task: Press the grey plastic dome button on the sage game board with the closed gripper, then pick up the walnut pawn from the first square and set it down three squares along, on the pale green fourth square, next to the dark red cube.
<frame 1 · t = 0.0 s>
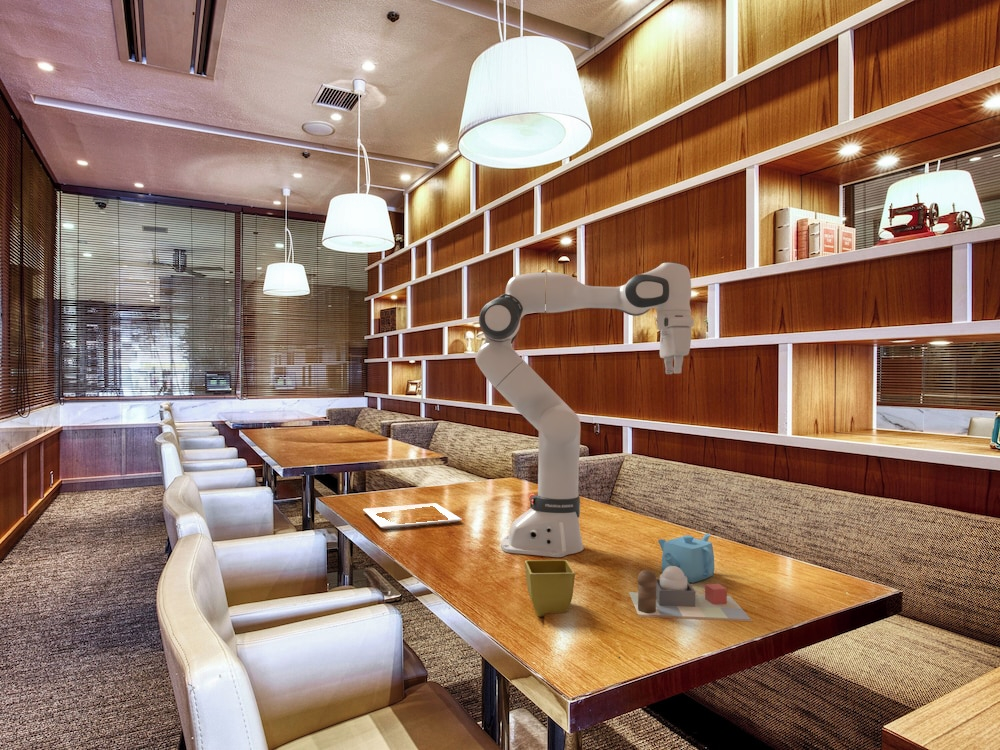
hand: (673, 373, 157), 48 cm above the table, fingers open, 8 cm apart
red cube: (715, 601, 118), point 1 cm above the table, touching board
teapot: (685, 579, 134), on the table
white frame: (410, 520, 190), on the table
pawn: (646, 609, 113), point 1 cm above the table, touching board
flower pot: (548, 613, 114), on the table
dome: (673, 579, 118), point 5 cm above the table, slide at 0.0 cm
board: (686, 610, 115), on the table
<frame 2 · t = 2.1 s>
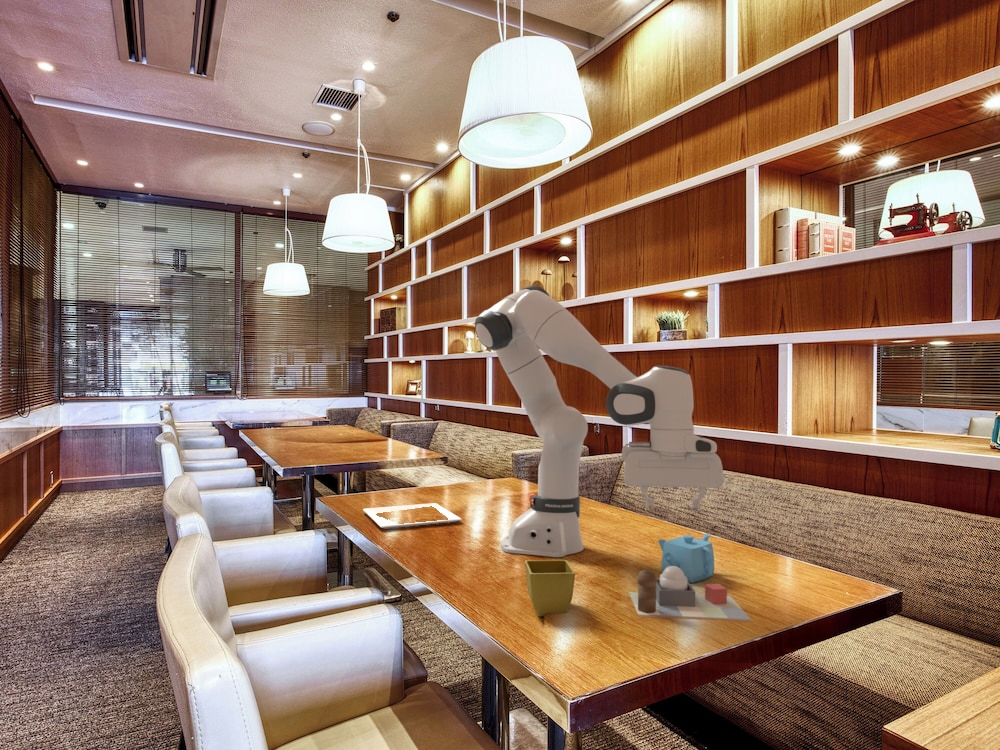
hand: (672, 507, 122), 19 cm above the table, fingers open, 8 cm apart
nothing on the table moved.
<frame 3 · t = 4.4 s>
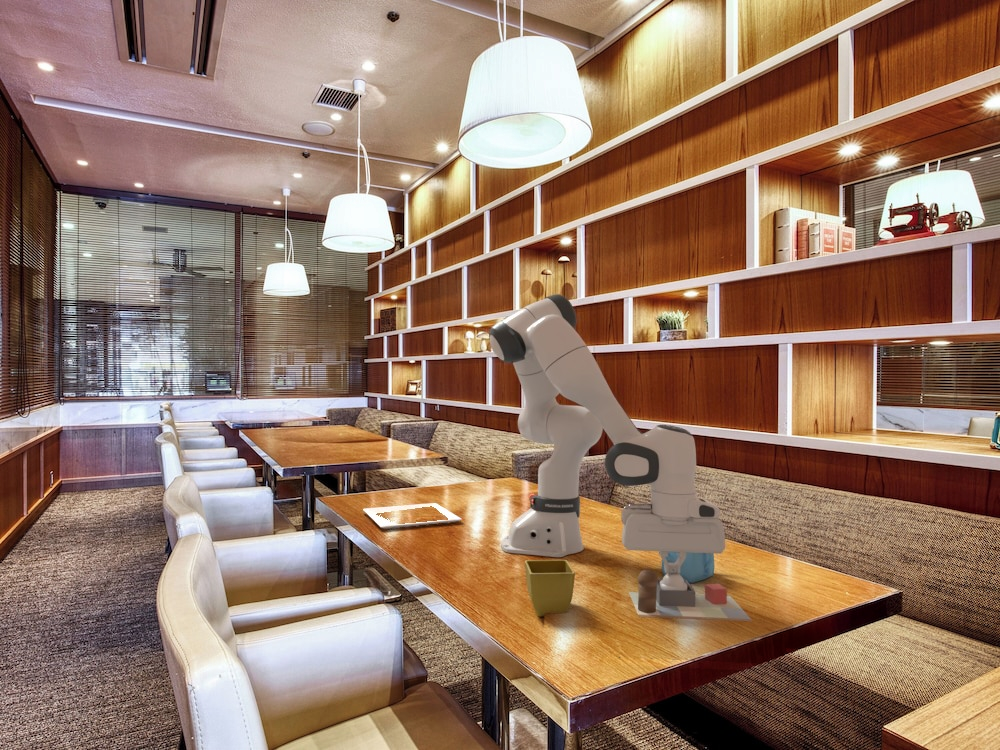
hand: (672, 572, 118), 7 cm above the table, fingers closed, pressing on dome
dome: (673, 585, 118), point 4 cm above the table, slide at 1.3 cm, touching gripper
everything else where it was.
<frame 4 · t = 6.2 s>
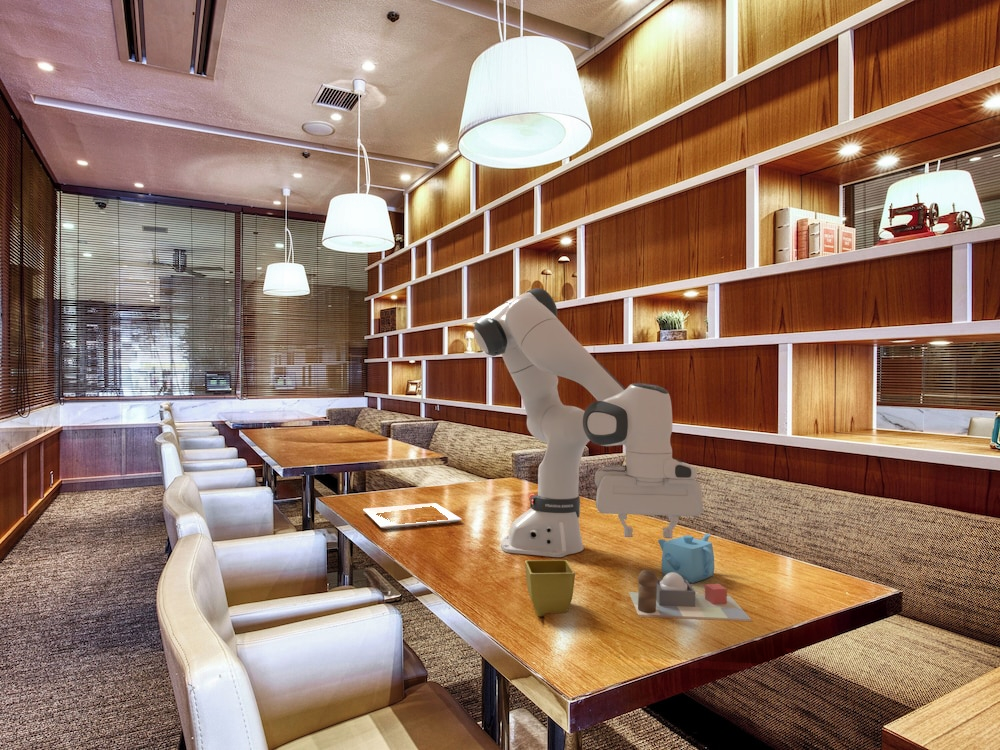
hand: (647, 537, 113), 15 cm above the table, fingers open, 6 cm apart
dome: (673, 585, 118), point 4 cm above the table, slide at 1.3 cm
everything else where it was.
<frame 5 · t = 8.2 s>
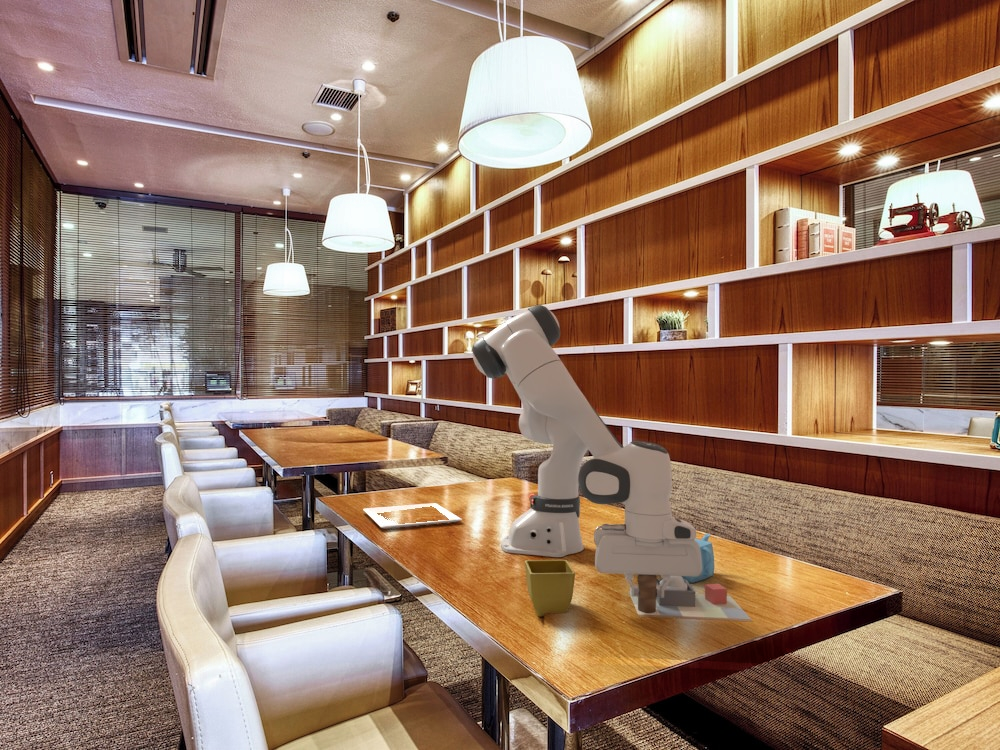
hand: (647, 596, 113), 4 cm above the table, fingers closed on pawn, 3 cm apart
pawn: (646, 609, 113), point 1 cm above the table, touching board, gripper
everything else where it was.
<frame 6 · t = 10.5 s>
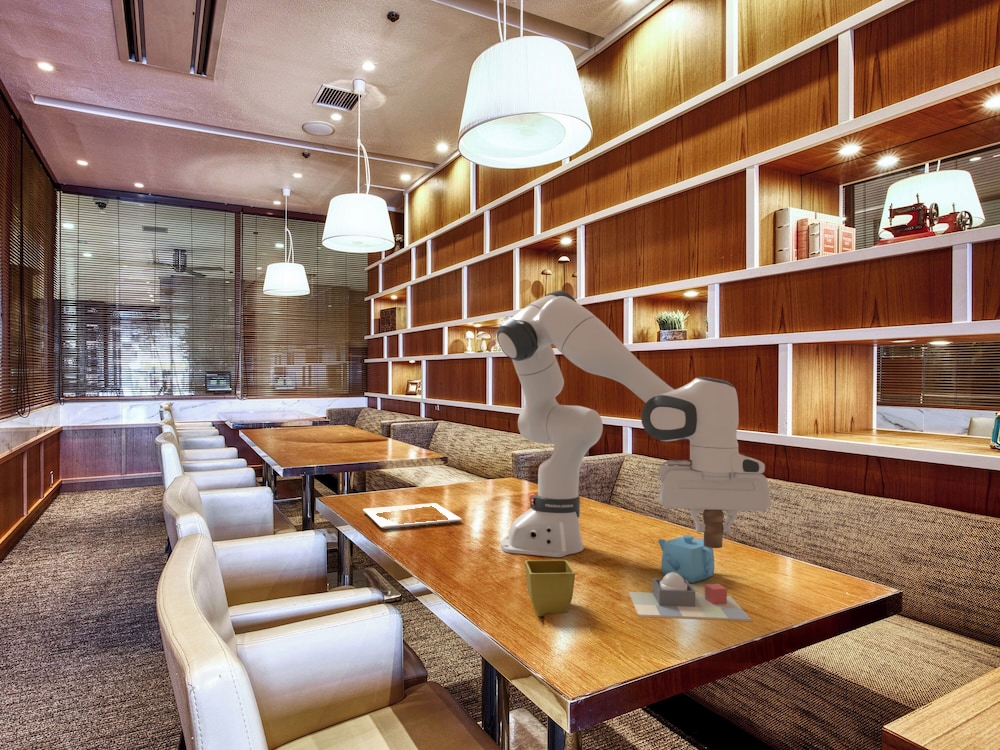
hand: (712, 532, 112), 16 cm above the table, fingers closed on pawn, 3 cm apart
pawn: (712, 545, 112), point 14 cm above the table, touching gripper
everything else where it was.
when the fingers open (5 cm above the table, at t = 12.8 s): pawn drops 1 cm, resting on board.
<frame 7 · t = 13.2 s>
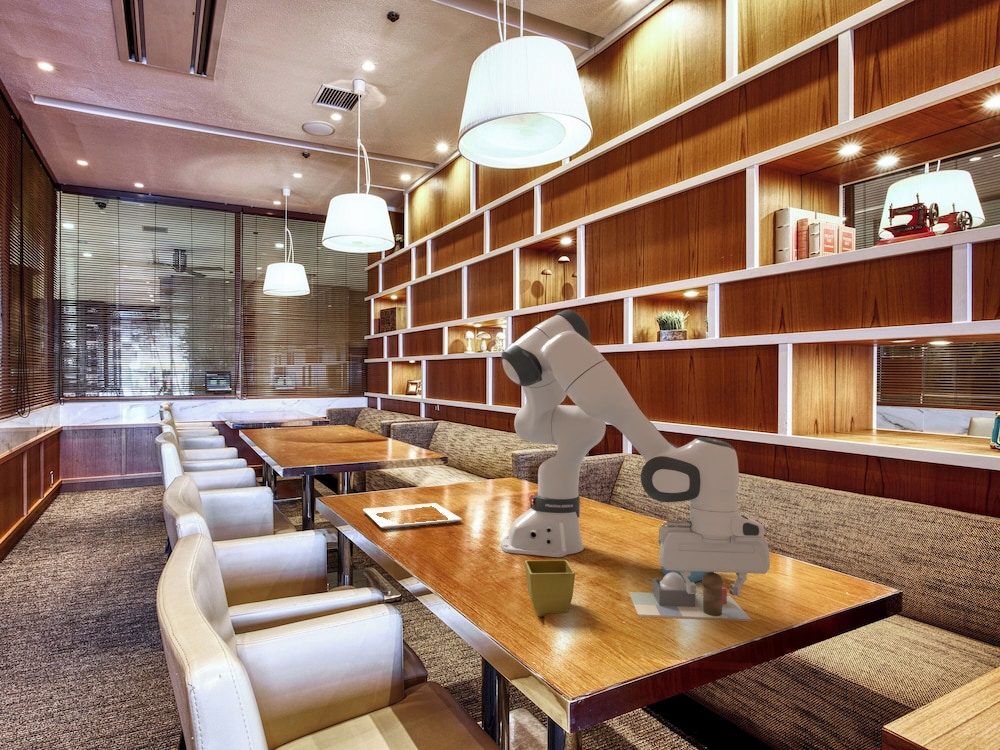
hand: (712, 593, 112), 5 cm above the table, fingers open, 7 cm apart
pawn: (712, 612, 112), point 1 cm above the table, touching board
everything else where it was.
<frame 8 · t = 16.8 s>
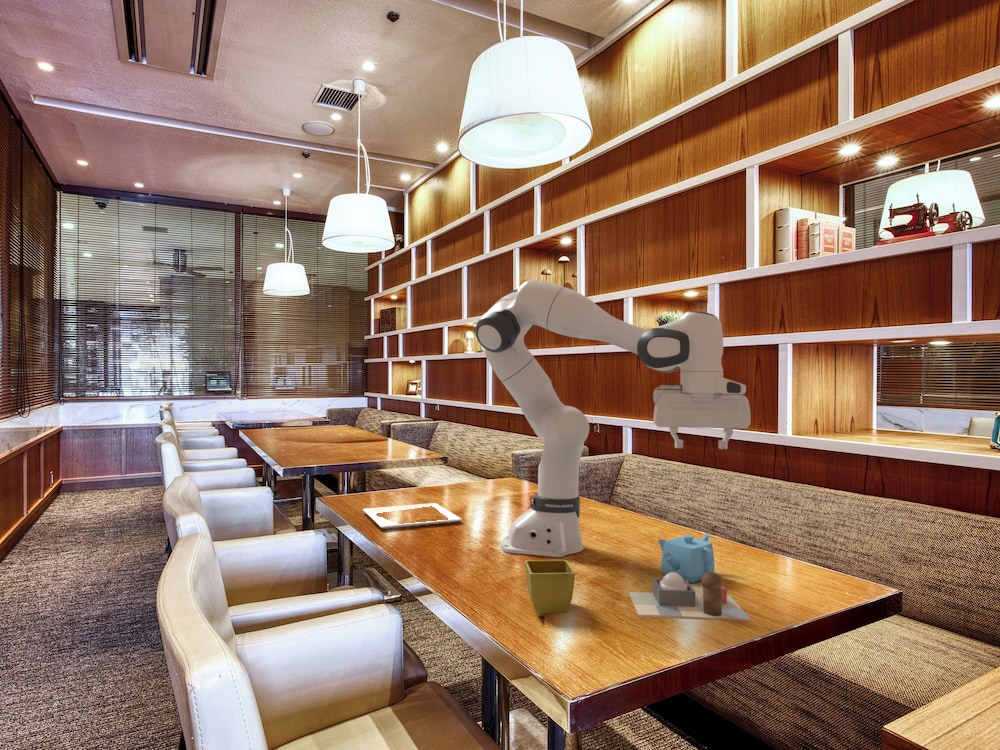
hand: (700, 448, 127), 31 cm above the table, fingers open, 8 cm apart
nothing on the table moved.
at the end: pawn 0.1 cm from the target spot on the board, point 1.0 cm above the board's base; pawn tilted 1°; dome slide at 1.3 cm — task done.
